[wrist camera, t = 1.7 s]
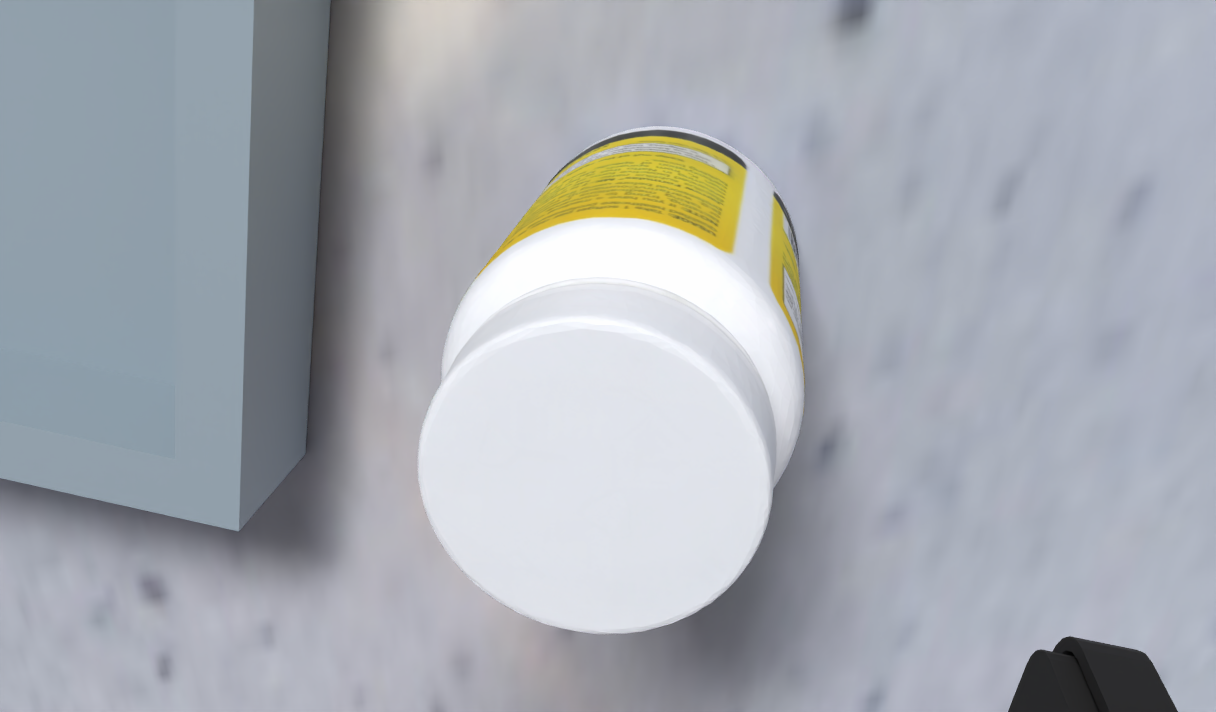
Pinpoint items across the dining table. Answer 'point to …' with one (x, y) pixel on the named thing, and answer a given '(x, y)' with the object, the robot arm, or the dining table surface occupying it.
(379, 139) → the dining table surface
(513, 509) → the supplement bottle
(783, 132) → the dining table surface
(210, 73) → the tray
